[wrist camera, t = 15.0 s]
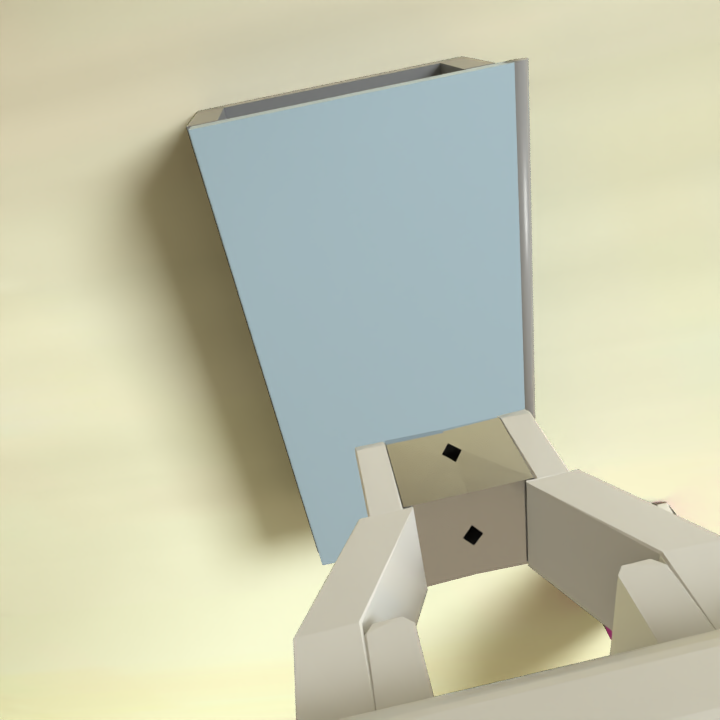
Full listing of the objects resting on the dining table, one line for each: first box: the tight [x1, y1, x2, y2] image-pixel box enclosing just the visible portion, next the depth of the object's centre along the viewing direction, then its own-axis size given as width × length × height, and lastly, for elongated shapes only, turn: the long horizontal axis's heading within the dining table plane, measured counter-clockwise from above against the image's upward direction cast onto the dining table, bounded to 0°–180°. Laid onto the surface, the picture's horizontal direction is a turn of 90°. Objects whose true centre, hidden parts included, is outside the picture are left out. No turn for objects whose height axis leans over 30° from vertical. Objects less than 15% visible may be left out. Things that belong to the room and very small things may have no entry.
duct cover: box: [188, 58, 535, 565], centre depth 28 cm, size 24×13×1 cm, turn 10°
